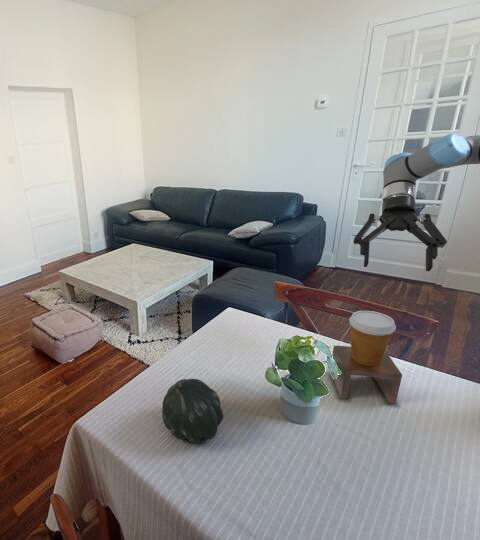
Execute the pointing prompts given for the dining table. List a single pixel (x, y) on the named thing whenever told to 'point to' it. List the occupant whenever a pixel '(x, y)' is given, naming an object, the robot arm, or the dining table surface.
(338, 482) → the dining table surface
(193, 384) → the squash
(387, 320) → the disposable coffee cup
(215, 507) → the dining table surface
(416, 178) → the robot arm
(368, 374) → the shelf
